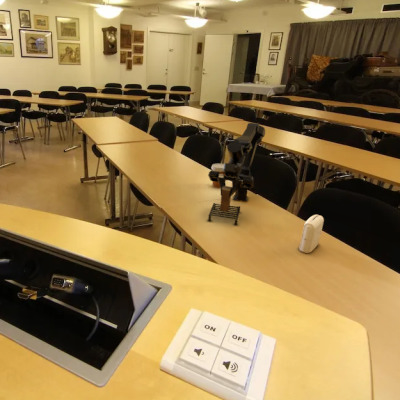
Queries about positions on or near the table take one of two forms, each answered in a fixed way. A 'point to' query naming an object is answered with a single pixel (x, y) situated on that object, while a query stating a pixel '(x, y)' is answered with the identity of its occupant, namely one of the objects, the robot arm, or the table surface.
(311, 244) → the photo printer
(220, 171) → the disposable coffee cup
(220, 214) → the wire rack
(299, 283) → the table surface
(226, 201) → the hanger post
